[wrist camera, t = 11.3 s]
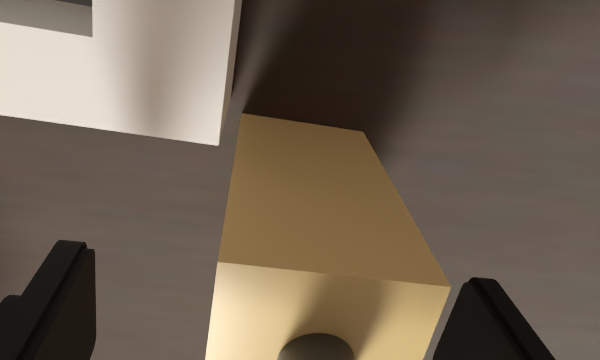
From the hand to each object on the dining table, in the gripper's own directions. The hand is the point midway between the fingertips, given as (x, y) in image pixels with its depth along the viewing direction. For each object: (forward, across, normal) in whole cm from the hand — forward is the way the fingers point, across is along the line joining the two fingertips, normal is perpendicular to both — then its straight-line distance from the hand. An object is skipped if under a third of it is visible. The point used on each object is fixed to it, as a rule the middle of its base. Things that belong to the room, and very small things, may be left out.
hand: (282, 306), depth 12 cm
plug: (+9, -1, 0) cm, 9 cm away
